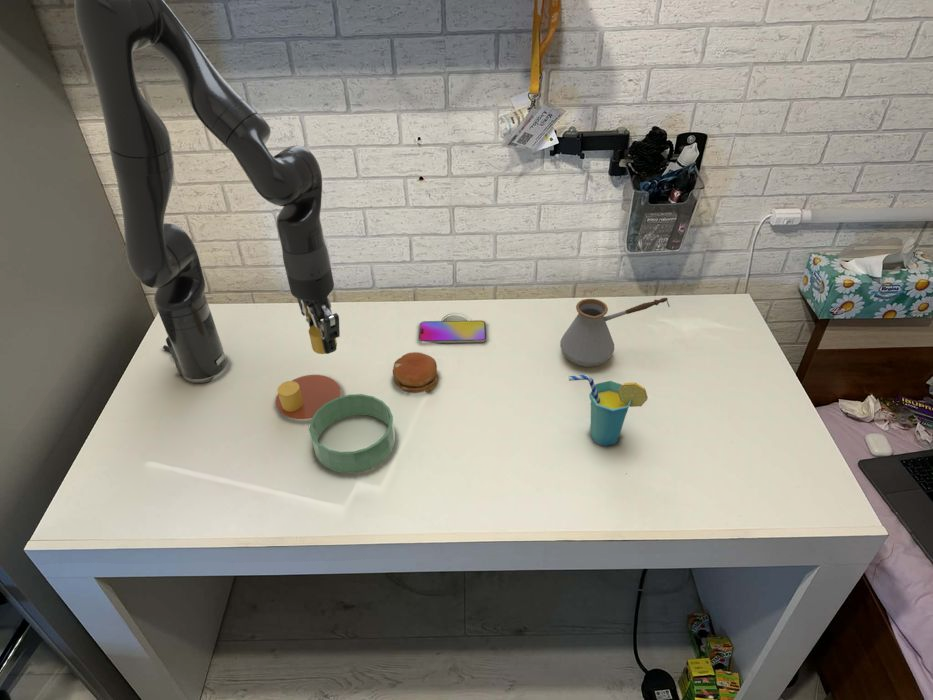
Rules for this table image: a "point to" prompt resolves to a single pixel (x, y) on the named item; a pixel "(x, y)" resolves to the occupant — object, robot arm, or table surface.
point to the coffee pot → (593, 332)
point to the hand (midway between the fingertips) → (324, 344)
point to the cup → (611, 407)
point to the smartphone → (452, 331)
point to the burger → (415, 372)
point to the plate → (312, 395)
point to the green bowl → (359, 458)
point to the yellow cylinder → (290, 396)
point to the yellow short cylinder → (317, 340)
